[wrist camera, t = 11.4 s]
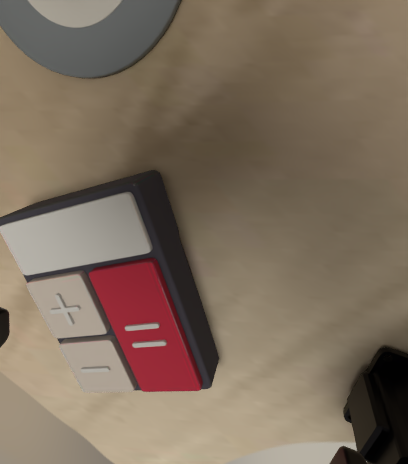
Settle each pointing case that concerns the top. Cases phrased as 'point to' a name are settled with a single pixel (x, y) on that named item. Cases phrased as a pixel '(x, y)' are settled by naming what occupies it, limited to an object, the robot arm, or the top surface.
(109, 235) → the calculator
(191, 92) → the top surface
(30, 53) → the coaster
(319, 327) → the top surface
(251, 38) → the top surface
